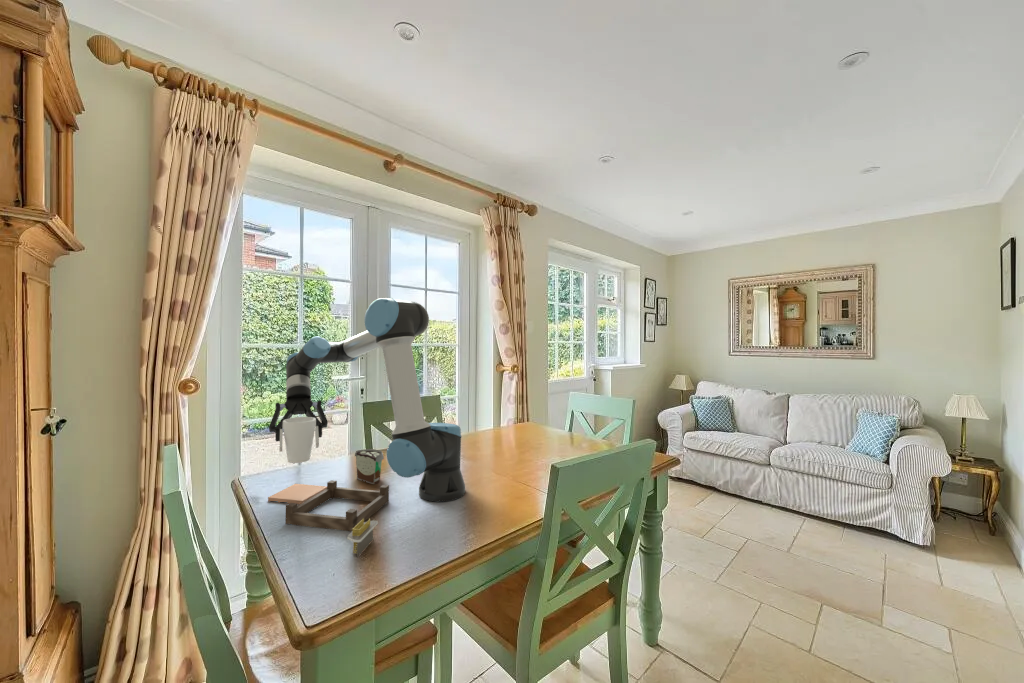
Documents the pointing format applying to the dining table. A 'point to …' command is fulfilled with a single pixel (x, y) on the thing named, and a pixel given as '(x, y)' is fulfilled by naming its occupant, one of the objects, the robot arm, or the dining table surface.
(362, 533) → the grey yellow plug connector
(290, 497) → the terracotta tile
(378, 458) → the cake slice
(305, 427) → the foam cup
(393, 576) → the dining table surface
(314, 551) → the dining table surface
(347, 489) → the frame
